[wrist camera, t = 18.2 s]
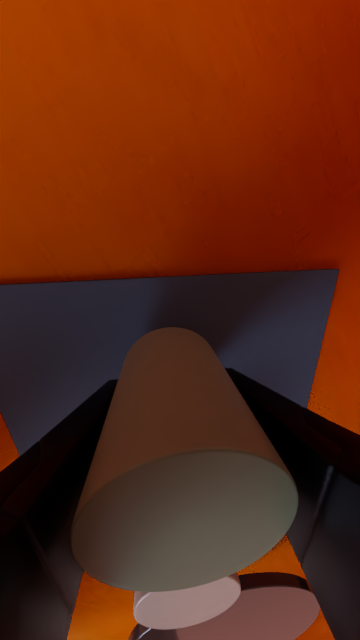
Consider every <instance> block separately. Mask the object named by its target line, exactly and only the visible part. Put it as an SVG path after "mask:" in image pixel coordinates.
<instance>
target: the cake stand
mask: <svg viewBox="0 0 360 640" xmlns="http://www.w3.org/2000/svg"><path fill="white" fill-rule="evenodd" d="M238 577H239V581H240V585H241V592H240V595H239V597H238V599H237V600H236V601H235V603H234V604H233V605H232V606H231V607H229V608H228V609H227V610H226V611H224V612H223V613H221V614H219V615H218V616H216V617H214V618H212V619H209V620H207V621H205V622H202V623H199V624H196V625H192V626H188V627H184V628H178V629H166V630H165V629H153V628H148V627H145V626H143V625H141V624H140V623H138V624H137V625H136V627H135V628H134V629H133V631H132V632H131V634H130V636H129V639H128V640H294V639H296V638H297V637H298V636H300V635H301V634H302V633H303V632H305V631H306V630H307V629H308V628H309V627H310V626H311V624H312V623H313V622H314V621H315V619H316V618H317V616H318V614H319V611H320V606H319V604H318V602H317V599H316V597H315V595H314V593H313V591H312V589H311V586H310V584H309V582H308V581H307V580H306V579H304V578H302V577H300V576H297V575H293V574H288V573H280V572H263V573H252V574H244V575H239V576H238Z"/></svg>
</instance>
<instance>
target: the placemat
mask: <svg viewBox="0 0 360 640" xmlns="http://www.w3.org/2000/svg"><path fill="white" fill-rule="evenodd" d="M338 273H339V269H319V270H297V271H276V272H254V273H233V274H212V275H190V276H169V277H148V278H126V279H105V280H83V281H62V282H41V283H19V284H0V412H1V414H2V417H3V419H4V421H5V423H6V426H7V428H8V430H9V432H10V435H11V437H12V439H13V441H14V444H15V446H16V448H17V450H18V453H19V455H20V456H21V455H22V454H23V453H24V452H26V451H27V450H28V449H29V448H30V447H31V446H33V445H34V444H35V443H36V442H37V441H40V439H41V438H42V437H43V436H44V435H46V434H47V433H48V432H49V431H50V430H51V429H53V428H54V427H55V426H56V425H57V424H58V423H60V422H61V421H62V420H63V419H64V418H65V417H67V416H68V415H69V414H70V413H71V412H72V411H74V410H75V409H76V408H77V407H78V406H79V405H81V404H82V403H83V402H84V401H85V400H86V399H88V398H89V397H90V396H91V395H92V394H93V393H95V392H96V391H97V390H98V389H99V388H100V387H102V386H103V385H104V384H105V383H106V382H107V381H109V380H114V379H119V376H120V373H121V370H122V366H123V363H124V360H125V357H126V355H127V353H128V351H129V349H130V348H131V347H132V345H133V344H134V343H135V342H136V341H137V340H138V339H140V338H141V337H142V336H144V335H145V334H147V333H149V332H152V331H154V330H157V329H161V328H167V327H178V328H184V329H188V330H191V331H193V332H195V333H197V334H199V335H200V336H201V337H203V338H204V339H205V340H206V341H207V342H208V343H209V345H210V346H211V348H212V349H213V351H214V352H215V354H216V356H217V357H218V359H219V360H220V362H221V364H222V365H223V367H224V368H233V369H235V370H236V371H238V372H240V373H242V374H244V375H246V376H247V377H249V378H251V379H253V380H255V381H257V382H259V383H260V384H262V385H264V386H266V387H268V388H270V389H271V390H273V391H275V392H277V393H279V394H281V395H283V396H284V397H286V398H288V399H290V400H292V401H294V402H295V403H297V404H299V405H301V407H305V408H307V404H308V400H309V395H310V391H311V387H312V383H313V379H314V374H315V370H316V366H317V362H318V357H319V353H320V349H321V345H322V340H323V336H324V332H325V328H326V323H327V319H328V315H329V311H330V307H331V302H332V298H333V294H334V290H335V285H336V281H337V277H338Z"/></svg>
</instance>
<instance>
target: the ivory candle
mask: <svg viewBox="0 0 360 640" xmlns="http://www.w3.org/2000/svg"><path fill="white" fill-rule="evenodd" d="M240 592H241V585H240V581H239V577H238V573H237V572H236V573H233V574H231V575H229V576H227V577H224V578H222V579H219V580H217V581H213V582H210V583H207V584H204V585H200V586H196V587H192V588H187V589H182V590H174V591H164V592H141V591H135V595H134V610H133V611H134V617H135V619H136V621H137V622H138V623H140V624H141V625H143V626H145V627H148V628H153V629H165V630H166V629H178V628H184V627H188V626H192V625H196V624H199V623H202V622H205V621H207V620H209V619H212V618H214V617H216V616H218V615H219V614H221V613H223V612H224V611H226V610H227V609H228V608H229V607H231V606H232V605H233V604H234V603H235V601H236V600H237V599H238V597H239V595H240Z"/></svg>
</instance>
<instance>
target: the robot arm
mask: <svg viewBox="0 0 360 640" xmlns="http://www.w3.org/2000/svg"><path fill="white" fill-rule="evenodd" d="M225 370H226V372H227V373H228V375H229V376H230V378H231V380H232V381H233V383H234V384H235V386H236V388H237V389H238V391H239V392H240V394H241V395H242V397H243V399H244V400H245V402H246V403H247V405H248V407H249V408H250V410H251V411H252V413H253V415H254V416H255V418H256V419H257V421H258V423H259V424H260V426H261V427H262V429H263V431H264V432H265V434H266V435H267V437H268V439H269V440H270V442H271V443H272V445H273V447H274V448H275V450H276V451H277V453H278V455H279V456H280V458H281V459H282V461H283V463H284V464H285V466H286V467H287V469H288V471H289V472H290V474H291V475H292V477H293V479H294V481H295V484H296V487H297V492H298V508H297V513H296V516H295V518H294V521H293V523H292V524H291V526H290V528H289V530H288V531H287V532H286V534H287V537H288V539H289V541H290V543H291V545H292V547H293V549H294V552H295V554H296V556H297V558H298V560H299V562H300V563H301V567H302V569H303V571H304V574H305V576H306V578H307V580H308V582H309V584H310V586H311V589H312V591H313V593H314V595H315V597H316V599H317V602H318V604H319V606H320V608H321V610H322V612H323V614H324V617H325V619H326V621H327V623H328V625H329V627H330V630H331V632H332V634H333V636H334V638H335V640H360V435H358V434H356V433H354V432H352V431H350V430H348V429H346V428H344V427H342V426H340V425H338V424H336V423H333V422H331V421H329V420H327V419H326V418H324V417H322V416H320V415H318V414H316V413H314V412H312V411H310V410H308V409H307V408H305V407H301V405H299V404H297V403H295V402H294V401H292V400H290V399H288V398H286V397H284V396H283V395H281V394H279V393H277V392H275V391H273V390H271V389H270V388H268V387H266V386H264V385H262V384H260V383H259V382H257V381H255V380H253V379H251V378H249V377H247V376H246V375H244V374H242V373H240V372H238V371H236V370H235V369H233V368H225ZM117 382H118V379H114V380H109V381H107V382H106V383H105V384H104V385H103V386H102V387H100V388H99V389H98V390H97V391H96V392H95V393H93V394H92V395H91V396H90V397H89V398H88V399H86V400H85V401H84V402H83V403H82V404H81V405H79V406H78V407H77V408H76V409H75V410H74V411H72V412H71V413H70V414H69V415H68V416H67V417H65V418H64V419H63V420H62V421H61V422H60V423H58V424H57V425H56V426H55V427H54V428H53V429H51V430H50V431H49V432H48V433H47V434H46V435H44V436H43V437H42V438H41V439H40V441H37V442H36V443H35V444H34V445H33V446H31V447H30V448H29V449H28V450H27V451H26V452H24V453H23V454H22V455H21V456H19V457H18V458H17V459H16V460H15V461H13V462H12V463H11V464H10V465H9V466H7V467H6V468H5V469H4V470H2V471H1V472H0V640H67V635H68V631H69V627H70V623H71V619H72V616H71V615H72V614H73V611H74V606H75V602H76V598H77V594H78V590H79V586H80V582H81V578H82V574H83V569H82V568H81V567H80V566H79V565H78V564H77V562H76V560H75V558H74V557H73V554H72V551H71V547H70V531H71V527H72V522H73V519H74V516H75V513H76V510H77V507H78V503H79V500H80V497H81V494H82V491H83V488H84V485H85V482H86V479H87V475H88V472H89V469H90V466H91V463H92V460H93V457H94V454H95V450H96V447H97V444H98V441H99V438H100V435H101V432H102V429H103V426H104V422H105V419H106V416H107V413H108V410H109V407H110V404H111V401H112V398H113V394H114V391H115V388H116V385H117Z"/></svg>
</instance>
